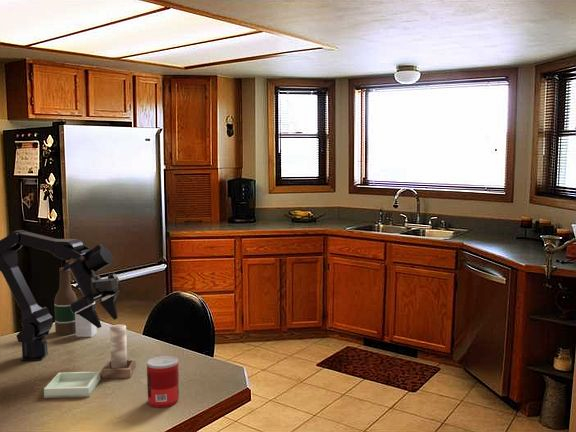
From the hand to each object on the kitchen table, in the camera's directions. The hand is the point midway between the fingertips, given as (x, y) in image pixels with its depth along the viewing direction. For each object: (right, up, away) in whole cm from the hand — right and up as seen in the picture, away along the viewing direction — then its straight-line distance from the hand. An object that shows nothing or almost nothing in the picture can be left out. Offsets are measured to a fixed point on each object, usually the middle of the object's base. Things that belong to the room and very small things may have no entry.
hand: (108, 323), depth 172 cm
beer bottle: (-26, -10, +33) cm, 43 cm away
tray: (-4, -15, -17) cm, 23 cm away
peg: (+5, -14, -6) cm, 16 cm away
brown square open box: (+5, -14, -6) cm, 16 cm away
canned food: (+23, -16, -25) cm, 37 cm away
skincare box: (-17, -10, +30) cm, 36 cm away
